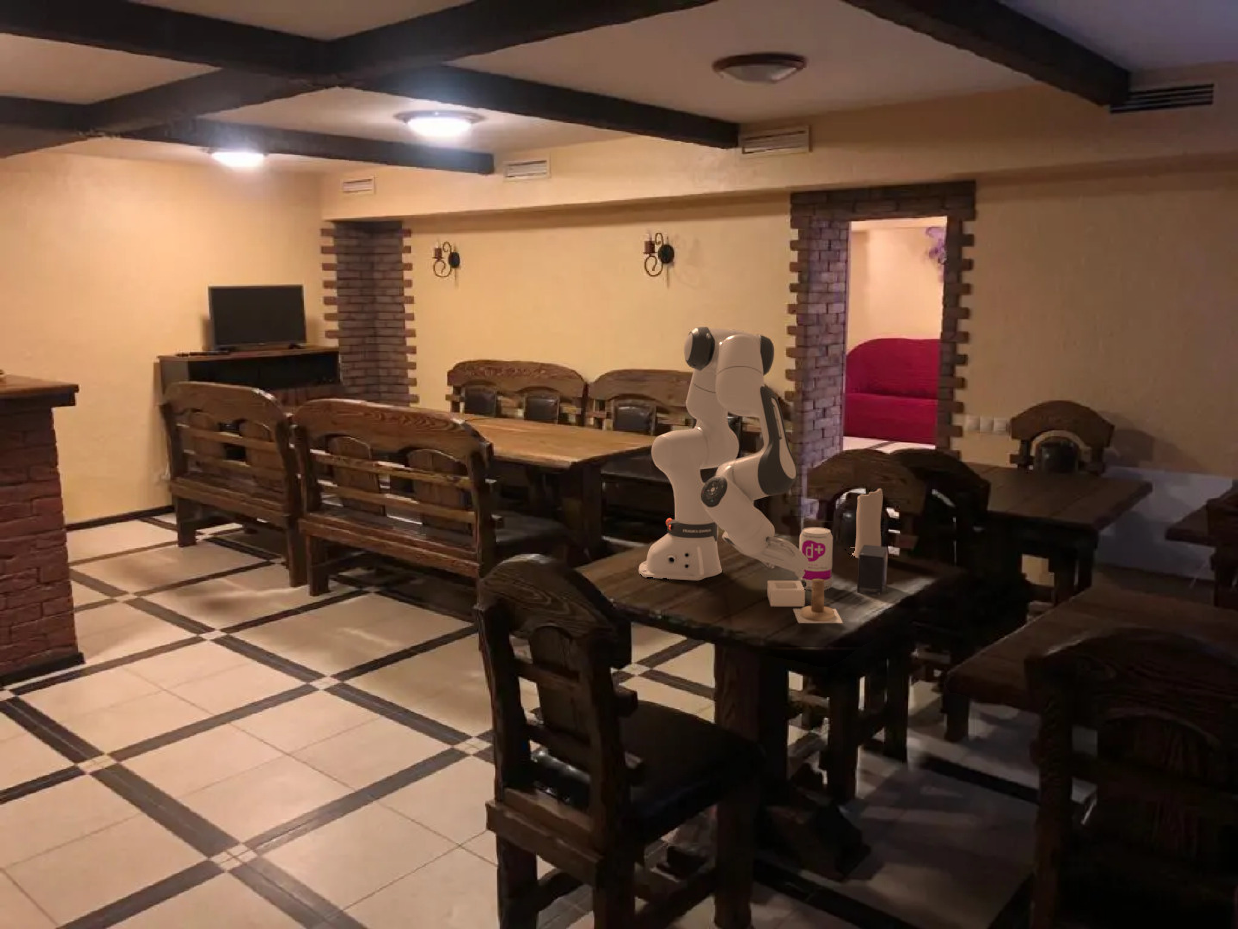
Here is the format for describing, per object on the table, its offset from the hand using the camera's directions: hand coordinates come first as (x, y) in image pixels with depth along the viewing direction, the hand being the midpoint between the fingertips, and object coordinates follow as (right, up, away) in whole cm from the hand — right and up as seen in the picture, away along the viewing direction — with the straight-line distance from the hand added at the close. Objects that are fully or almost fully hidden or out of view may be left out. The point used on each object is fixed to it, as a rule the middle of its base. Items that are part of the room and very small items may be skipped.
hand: (786, 570), depth 222 cm
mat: (+8, -12, +7) cm, 16 cm away
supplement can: (+12, -8, +31) cm, 34 cm away
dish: (+3, -10, +18) cm, 21 cm away
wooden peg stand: (+8, -11, +7) cm, 16 cm away
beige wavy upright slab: (+32, -2, +62) cm, 70 cm away
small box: (+26, -8, +28) cm, 39 cm away
